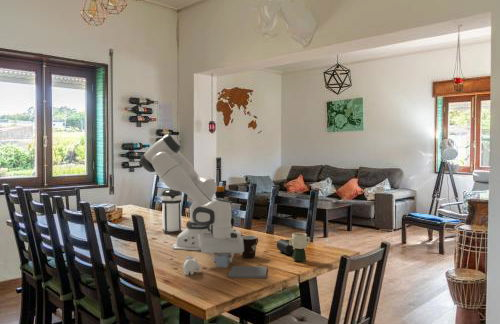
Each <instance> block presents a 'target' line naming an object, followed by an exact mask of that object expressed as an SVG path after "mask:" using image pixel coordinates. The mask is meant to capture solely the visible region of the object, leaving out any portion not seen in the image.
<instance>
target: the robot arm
mask: <svg viewBox="0 0 500 324" xmlns="http://www.w3.org/2000/svg"><path fill="white" fill-rule="evenodd" d="M180 150H181V143H180V140H179V139H178V138H177V137H176V136H175V135H172V134H171V133H167V134H165V135H163V136H162V138H159V139H158V140H157V141H156V142H154V143H153V144H152V146H150V147H149V148H148V149H147V150H146V152H145V153H143V154H142V155H141V156H140V159H139V162H140V164H141V167H142V168H143V169H144V170H146V171H147V172H149V173H156V175H157V176H158V177H159V179H160V180H161V181H162V182H163V184H164V185H165V186H166V187H167V188H169V190H170V189H172V190H176V191H180V192H181V193H183V194H185V195H187V196H188V197H189V198H190V199H191V200H192V203H191V205H190V206H189V220H187V222H186V223H185V224H186V228H185V229H183V230H182V232H181V231H180V232H181V233H179V234H178V235H177V237H176V242H175V243H173V244H172V245H171V248H172V249H173V250H187V251H200V252H201V253H202V254H210V257H211V258H212V262H213V263H216V257H215V254H230V256H231V257H229V264H230V263H231V264H232V263H233V259H234V256H235V254H242V253H243V252H244V242H243V238H242V237H241V236H242V232H241V230H238V229H235V228H234V227H233V228H232V225H231V217H233V216H232V206H231V202H230V200H228V199H226V198H225V197H224V198H216V197H214V196H215V192H216V190H217V186H218V185H217V182H215V180H214V179H212V178H210V177H208V176H201V175H200V174H198V173H197V171H196V170H195V168H194V165H193V164H192V163H191V162H190V161H189V160H188V159H187V158H186V157H185V156H184V155H183V154H182V153H181V152H180ZM213 197H214V198H213ZM211 225H213V233H211Z"/></svg>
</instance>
